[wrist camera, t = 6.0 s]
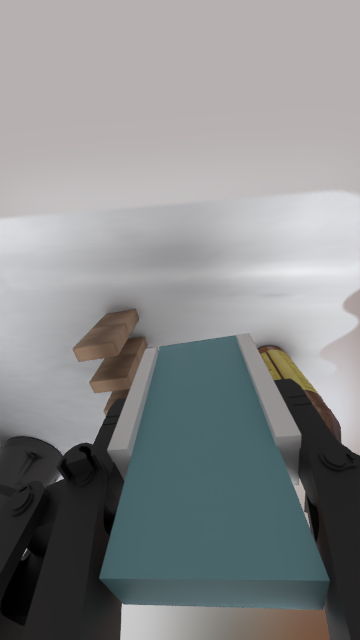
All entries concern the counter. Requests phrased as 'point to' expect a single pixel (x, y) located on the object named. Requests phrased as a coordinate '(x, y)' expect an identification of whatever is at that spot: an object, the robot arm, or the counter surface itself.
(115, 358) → the domino
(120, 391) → the domino
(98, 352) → the domino
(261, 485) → the domino
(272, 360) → the sauce bottle
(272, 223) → the counter surface
